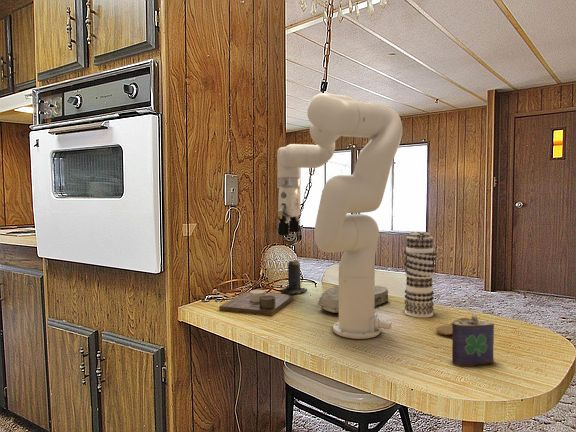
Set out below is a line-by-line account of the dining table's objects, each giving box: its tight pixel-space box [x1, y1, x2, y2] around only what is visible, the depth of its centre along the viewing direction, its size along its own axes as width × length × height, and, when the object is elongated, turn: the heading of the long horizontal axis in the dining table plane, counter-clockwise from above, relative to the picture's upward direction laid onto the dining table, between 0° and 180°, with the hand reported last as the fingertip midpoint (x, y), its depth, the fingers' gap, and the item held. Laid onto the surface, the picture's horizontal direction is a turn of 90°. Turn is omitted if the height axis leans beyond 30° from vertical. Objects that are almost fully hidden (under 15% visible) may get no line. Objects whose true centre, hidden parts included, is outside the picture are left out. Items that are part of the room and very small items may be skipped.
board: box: [218, 291, 294, 317], centre depth 138 cm, size 18×20×2 cm
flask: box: [451, 314, 495, 367], centre depth 90 cm, size 9×3×11 cm, turn 95°
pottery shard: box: [435, 317, 471, 336], centre depth 109 cm, size 11×4×10 cm
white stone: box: [249, 289, 266, 302], centre depth 138 cm, size 5×5×3 cm
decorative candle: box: [403, 231, 437, 319], centre depth 126 cm, size 9×9×25 cm
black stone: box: [259, 295, 275, 309], centre depth 130 cm, size 5×5×3 cm
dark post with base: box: [279, 259, 308, 296], centre depth 154 cm, size 9×8×12 cm
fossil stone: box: [317, 285, 389, 314], centre depth 136 cm, size 28×15×5 cm, turn 131°
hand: (289, 233), depth 142 cm, fingers open, 9 cm apart
